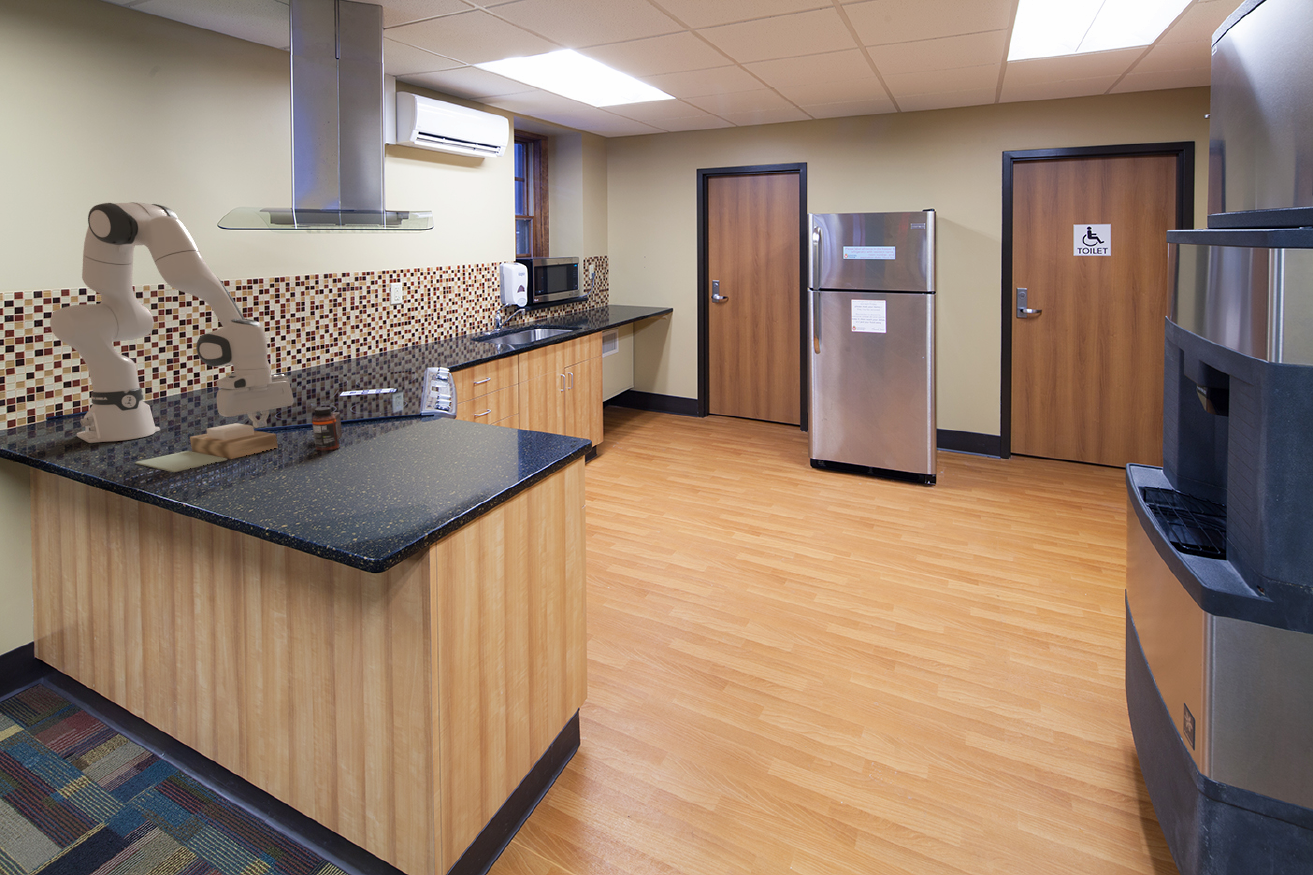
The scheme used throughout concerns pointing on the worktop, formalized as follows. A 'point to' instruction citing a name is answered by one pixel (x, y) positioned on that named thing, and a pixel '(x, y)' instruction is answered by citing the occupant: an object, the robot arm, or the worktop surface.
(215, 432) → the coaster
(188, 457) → the mat
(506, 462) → the worktop surface
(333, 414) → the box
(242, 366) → the robot arm
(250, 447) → the serving board
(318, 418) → the supplement bottle
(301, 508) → the worktop surface
